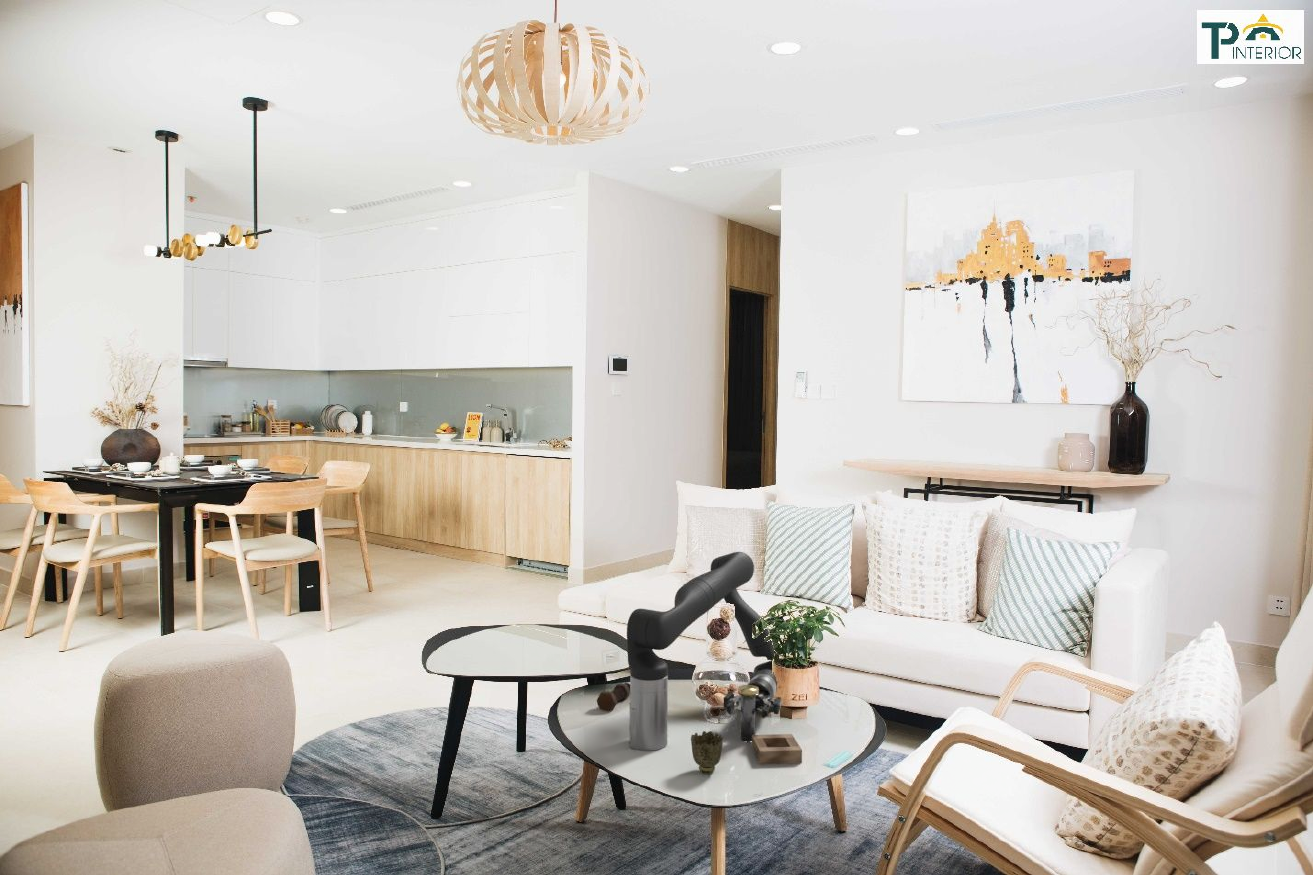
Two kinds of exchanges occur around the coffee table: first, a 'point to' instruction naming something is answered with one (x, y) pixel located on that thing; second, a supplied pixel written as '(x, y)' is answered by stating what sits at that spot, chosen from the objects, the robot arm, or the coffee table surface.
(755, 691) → the pin
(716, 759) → the cup
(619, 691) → the brown hex dumbbell
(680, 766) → the coffee table surface
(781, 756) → the socket block
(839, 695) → the coffee table surface
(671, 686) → the coffee table surface
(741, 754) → the coffee table surface
